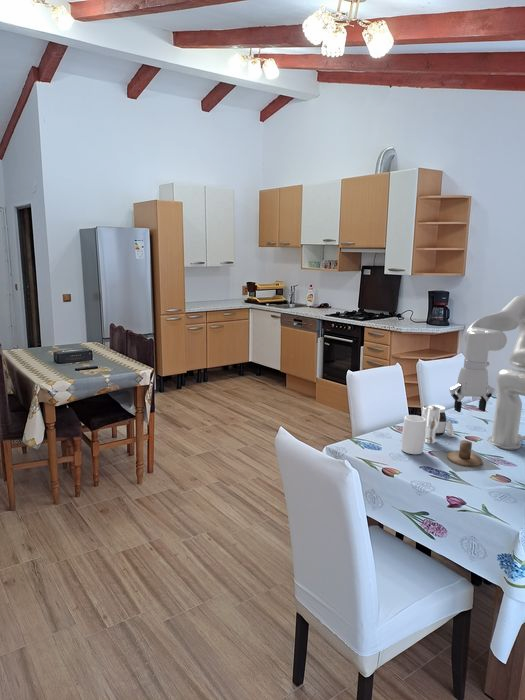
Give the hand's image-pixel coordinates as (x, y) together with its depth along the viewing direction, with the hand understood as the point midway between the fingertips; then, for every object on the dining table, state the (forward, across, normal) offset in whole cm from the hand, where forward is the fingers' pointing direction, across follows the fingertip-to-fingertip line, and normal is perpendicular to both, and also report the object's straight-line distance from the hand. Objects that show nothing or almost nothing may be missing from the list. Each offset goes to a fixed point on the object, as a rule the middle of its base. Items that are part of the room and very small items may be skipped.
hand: (469, 410), depth 189 cm
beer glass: (+20, +4, -20) cm, 29 cm away
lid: (+19, 0, 0) cm, 19 cm away
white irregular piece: (+20, -6, -29) cm, 36 cm away
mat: (+20, 0, 0) cm, 20 cm away
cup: (+20, +16, -10) cm, 28 cm away
